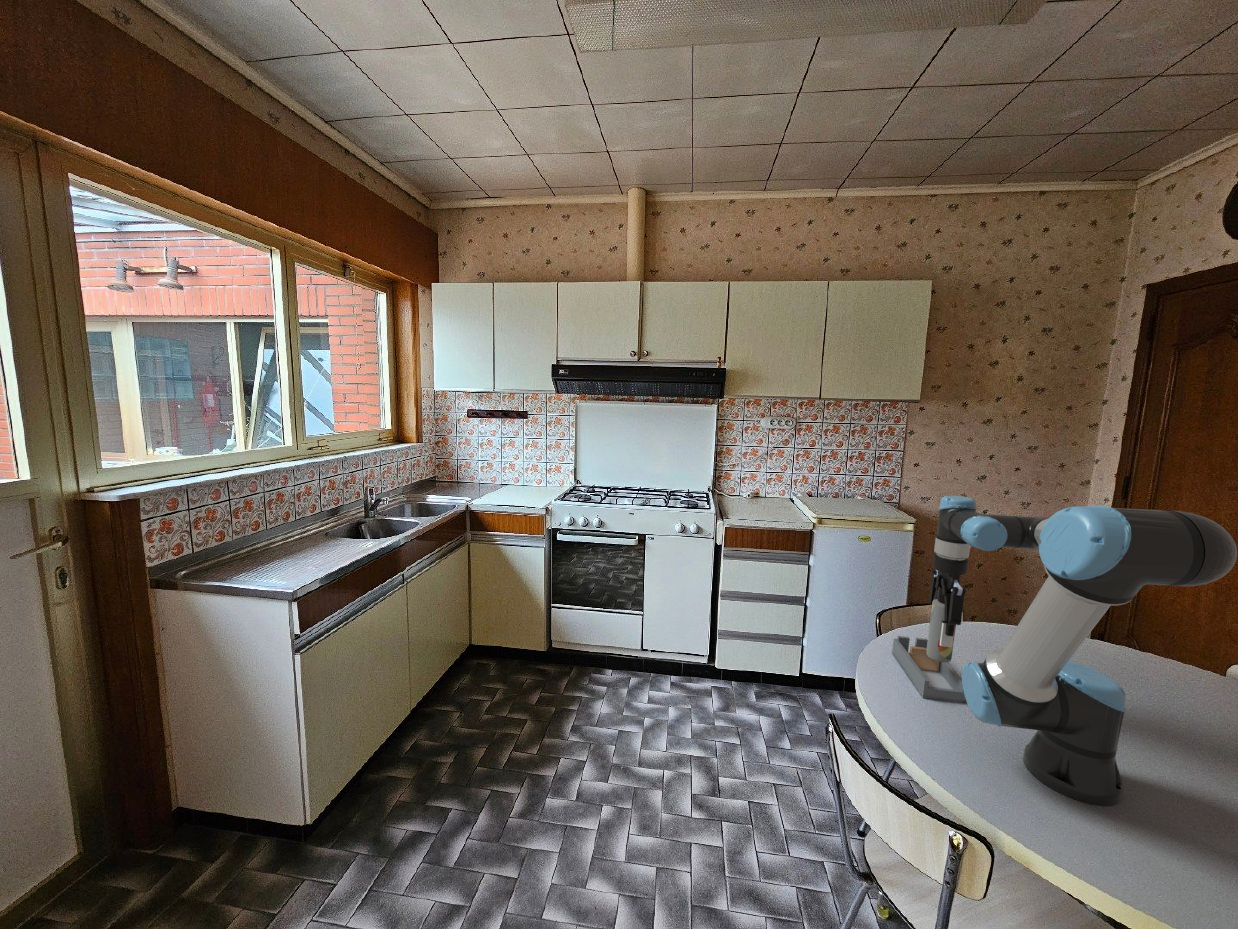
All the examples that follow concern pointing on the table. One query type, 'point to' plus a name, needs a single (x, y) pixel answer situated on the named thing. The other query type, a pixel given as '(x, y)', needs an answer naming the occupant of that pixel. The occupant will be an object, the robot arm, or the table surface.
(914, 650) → the pusher
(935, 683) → the tray
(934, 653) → the lotion bottle
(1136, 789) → the table surface
